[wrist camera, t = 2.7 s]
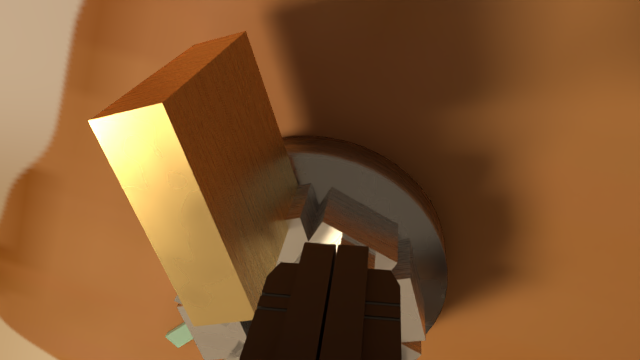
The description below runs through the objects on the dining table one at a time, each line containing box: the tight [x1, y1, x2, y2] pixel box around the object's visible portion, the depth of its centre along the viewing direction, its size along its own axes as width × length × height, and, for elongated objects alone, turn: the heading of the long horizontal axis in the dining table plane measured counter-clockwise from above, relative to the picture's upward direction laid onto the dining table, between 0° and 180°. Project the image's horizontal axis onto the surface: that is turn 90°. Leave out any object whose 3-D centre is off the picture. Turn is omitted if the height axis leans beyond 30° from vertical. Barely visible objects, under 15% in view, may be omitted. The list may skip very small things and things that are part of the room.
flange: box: [282, 136, 447, 334], centre depth 22 cm, size 12×12×6 cm
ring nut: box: [88, 31, 426, 360], centre depth 18 cm, size 16×10×7 cm, turn 16°
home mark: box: [165, 322, 193, 348], centre depth 28 cm, size 4×1×1 cm, turn 131°
